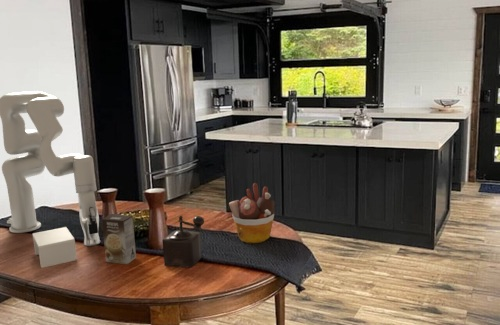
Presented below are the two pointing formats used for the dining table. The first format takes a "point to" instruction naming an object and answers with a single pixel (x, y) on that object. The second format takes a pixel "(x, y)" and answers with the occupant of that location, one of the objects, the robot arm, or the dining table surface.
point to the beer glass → (88, 238)
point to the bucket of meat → (253, 216)
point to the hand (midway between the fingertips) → (90, 230)
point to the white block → (54, 246)
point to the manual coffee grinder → (183, 245)
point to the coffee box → (119, 238)
